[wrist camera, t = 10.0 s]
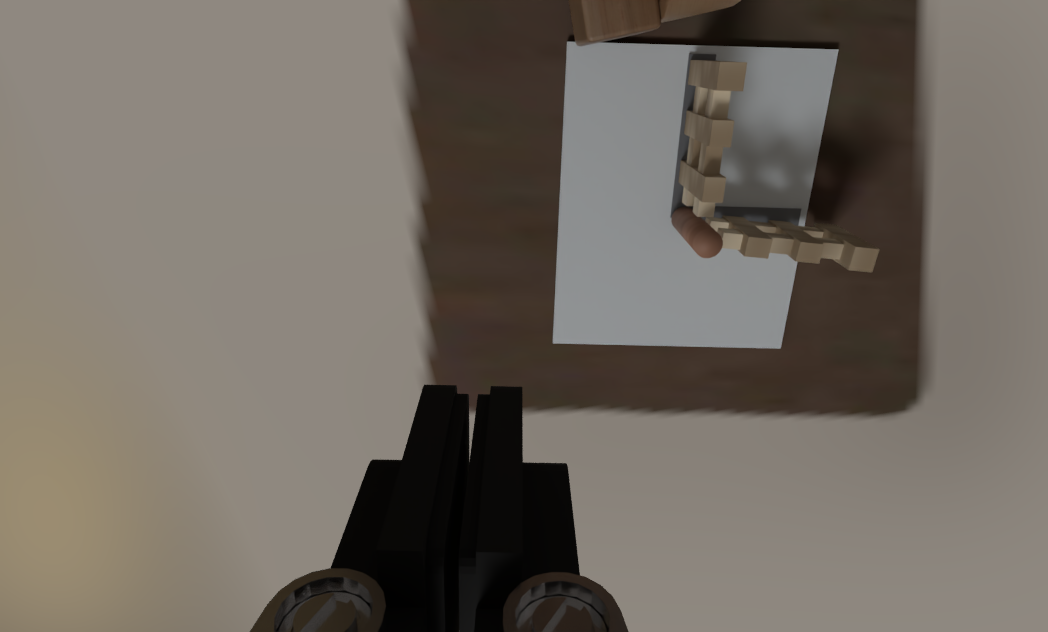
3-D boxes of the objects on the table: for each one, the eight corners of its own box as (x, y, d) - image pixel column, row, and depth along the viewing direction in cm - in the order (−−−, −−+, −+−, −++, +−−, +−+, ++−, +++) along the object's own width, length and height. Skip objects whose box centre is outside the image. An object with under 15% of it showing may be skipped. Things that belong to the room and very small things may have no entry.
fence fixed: (688, 59, 34) (720, 61, 29) (711, 60, 34) (747, 62, 29) (673, 197, 37) (699, 222, 31) (694, 197, 37) (723, 222, 31)
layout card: (566, 41, 34) (567, 41, 33) (835, 49, 34) (839, 49, 34) (552, 341, 40) (553, 343, 40) (779, 346, 40) (781, 349, 40)
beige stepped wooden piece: (669, 229, 37) (691, 256, 32) (673, 205, 36) (697, 229, 32) (826, 245, 37) (871, 274, 32) (833, 221, 37) (880, 247, 32)
